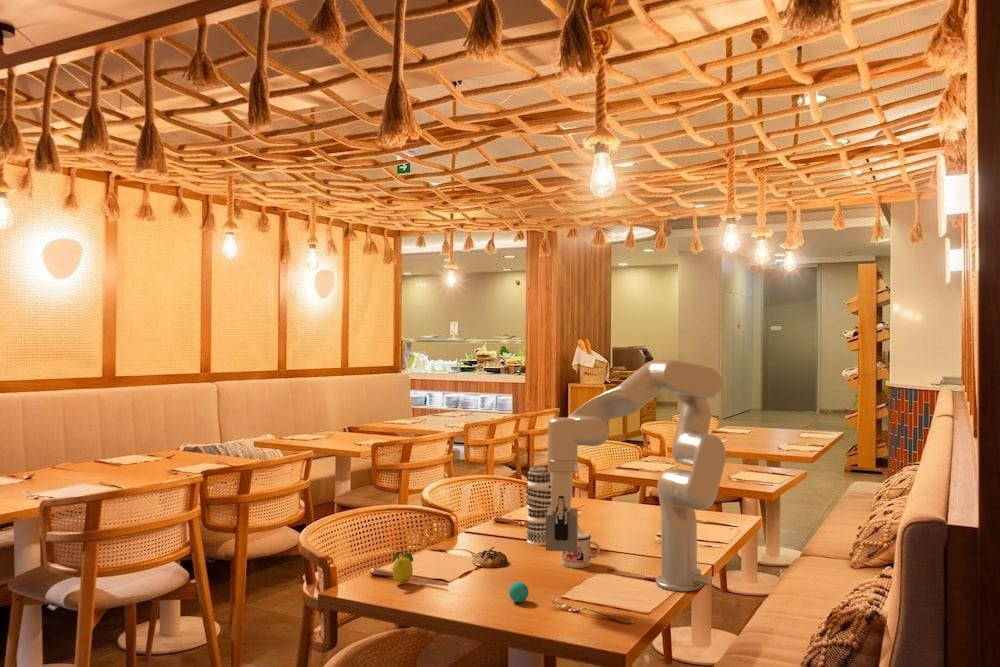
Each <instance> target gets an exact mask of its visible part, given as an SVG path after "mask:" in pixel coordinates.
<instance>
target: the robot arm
mask: <svg viewBox="0 0 1000 667" xmlns="http://www.w3.org/2000/svg"><path fill="white" fill-rule="evenodd" d="M722 388H723V379H722V376H721V374H720V373H719V371H718V370H716V369H715V368H713V367H710V366H705V365H701V364H695V363H689V362H687V361H680V360H675V359H653V360H650V361H647V362H645V364H643V365H642V366H641V367H639V368H638V369H636V371H634V372H633V373H632V374H631V375H629V376H628V377H627V378H626V379H625V380H623V381H622V382H621V383H619V384H618V385H617V386H616V387H614V388H612V389H610V390H607V391H605V392H603V393H601V394H600V395H599V394H598V396H595V397H593V398H591V399H590V400H588V401H587V402H585V403H583V404H582V405H580V406H579V407H578V408H577V409H575V410H574V411H573V412H571V414H569V415H568V416H567V417H561V416H560V417H552V418H550V419H549V420H548V424H547V425H548V426H547V427H548V428H547V468H548V472H549V473H550V474H551V477H550V481H551V488H550V490H551V500H550V501H551V513H553V512H554V511H555V510H556V523H555V540H568V524H567V514H568V513H569V512H570V510H572V509H571V508H572V501H573V483H574V482H573V478H574V477H573V476H574V475H573V474H577V473H578V446H585V447H599V446H601V445H603V444H604V443H606V442H607V441H608V439H609V438H610V437H609V436H610V428H609V425H608V423H607V422H608V421H610V420H614V419H617V418H622V417H627V416H630V415H633V414H636V413H637V412H638V411H640V410H641V409H642V408H644V406H646V405H647V404H648V403H649V402H650V401H652V400H653V399H654V398H655V397H656V396H657V395H659V394H660V393H662V392H668V393H669V392H671V393H673V395H674V397H675V398H676V401H677V403H678V406H679V415H678V416H679V417H678V422H677V426H676V430H675V434H674V437H673V442H672V446H671V456H672V458H673V459H674V460H675V462H676V463H678V464H681V465H684V466H689V467H692V469H691V470H687V469H682V468H669V469H667V470H664V471H663V472H662V473H661V474H660V476H659V477H658V480H657V483H656V484H657V485H656V488H657V495H658V499H659V506H660V518H661V519H660V522H661V523H660V525H661V526H660V530H661V532H660V533H661V534H660V536H661V537H660V538H661V540H660V542H661V543H660V546H661V554H660V555H661V557H660V558H661V559H660V561H661V562H660V563H661V575H659V576H657V577H656V578H655V584H656V585H657V586H658V587H659V586H660V588H662V589H665V590H668V591H674V592H694V591H699V590H700V589H702V588H703V587H704V585H706V586H710V585H711V582H712V581H711V580H712V579H711V576H710V575H705V574H704V575H703V574H702V572H701V568H698V551H697V550H698V538H697V537H698V535H697V534H698V533H697V532H698V528H697V527H698V524H697V520H698V519H697V516H696V511H695V510H699V511H703V510H707V509H709V508H710V507H711V506H713V504H714V503H715V500H716V499H717V496H718V492H719V488H720V484H721V480H722V476H723V472H724V468H725V462H726V459H727V456H726V455H727V454H726V452H727V450H726V447H725V444H724V442H723V440H722V439H721V438H719V437H718V436H717V435H715V434H712V433H709V431H710V424H711V419H712V412H711V408H710V405H709V402H708V400H707V399H712V398H715V397H717V396H718V395H719V394H720V392H721V391H722ZM563 510H566V511H563Z"/></svg>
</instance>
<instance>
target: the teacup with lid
mask: <svg viewBox="0 0 1000 667" xmlns="http://www.w3.org/2000/svg"><path fill="white" fill-rule="evenodd" d="M591 538H592V536H591V533H589V532H588V531H585V530H583V529H582V528H580V526H579V525H578V547H577V552H572V551H561V564H562V565H563V567H567V568H571V569H582V568H588V567H589V566H591V559H595V558H597V557H598V556H599V554H600V552H601V547H600V544H599V543H597V542H596V541H591ZM591 545H594V546H595V547H596V553H595V555H591Z"/></svg>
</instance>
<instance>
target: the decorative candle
mask: <svg viewBox="0 0 1000 667" xmlns="http://www.w3.org/2000/svg"><path fill="white" fill-rule="evenodd" d="M527 475H528V476H527V478H528V480H527V484H526V485H525V489H526V491H525V493H526V494H527V495H526V504H527V505H526V508H527V509H528V510H527V511H528V512H527V520H526V521H527V522H526V524H527V526H526V528H527V530H526V534H527V535H526V538H527V540H526V543H527V542H528V543H527V544H529V543H530V544H529V545H533V544H534V545H533V546H546V513H547V510H548V509H551V473H549V472H548V467H546V466H545V467H544V466H534V467H533V466H532V467H531V468H530V469H529V471H527Z"/></svg>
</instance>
